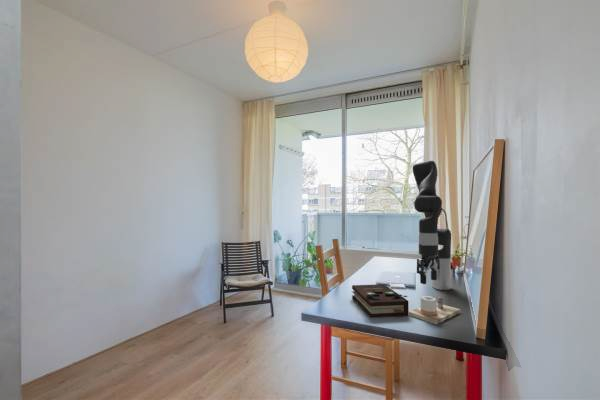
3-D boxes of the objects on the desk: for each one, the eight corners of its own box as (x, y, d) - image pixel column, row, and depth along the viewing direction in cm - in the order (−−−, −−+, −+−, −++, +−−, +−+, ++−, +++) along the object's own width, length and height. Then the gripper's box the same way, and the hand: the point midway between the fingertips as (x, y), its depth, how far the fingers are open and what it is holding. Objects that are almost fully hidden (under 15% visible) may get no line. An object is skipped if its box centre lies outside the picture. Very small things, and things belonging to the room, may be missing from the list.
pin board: (433, 304, 134) (432, 292, 134) (459, 312, 125) (459, 298, 125) (408, 315, 122) (408, 301, 122) (436, 324, 113) (436, 309, 113)
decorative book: (384, 281, 149) (414, 300, 120) (384, 295, 149) (414, 318, 119) (348, 282, 147) (369, 302, 117) (348, 297, 147) (369, 321, 117)
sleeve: (425, 309, 125) (425, 295, 125) (438, 313, 120) (438, 298, 120) (418, 312, 121) (418, 297, 121) (431, 316, 117) (431, 301, 117)
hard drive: (387, 280, 173) (390, 286, 161) (401, 281, 172) (406, 287, 160) (387, 283, 173) (390, 289, 161) (401, 283, 172) (406, 290, 160)
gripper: (428, 240, 128) (428, 277, 128) (410, 243, 119) (411, 283, 119) (445, 242, 122) (446, 280, 122) (428, 246, 113) (428, 287, 113)
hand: (428, 281), depth 121 cm, fingers open, 8 cm apart
